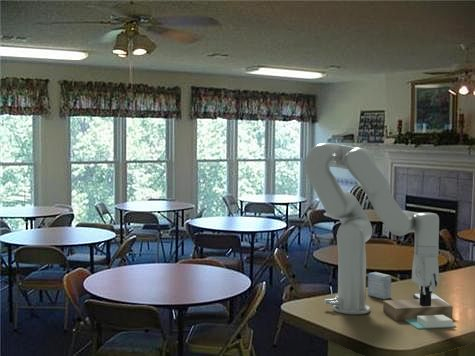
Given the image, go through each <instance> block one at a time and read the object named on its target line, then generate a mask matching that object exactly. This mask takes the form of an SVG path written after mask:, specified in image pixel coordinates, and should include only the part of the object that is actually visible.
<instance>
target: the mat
mask: <svg viewBox="0 0 475 356" xmlns="http://www.w3.org/2000/svg"><path fill="white" fill-rule="evenodd" d="M404 322H406V323H408V324H409V325H411V326H412V327H414V328H415V329H417V330H427V329H445V328H446V329H448V328H457V325H455V324H454V323H453V326H451V327H430V328H426V327H424V326H423V325H421V324H419V323H418V322H417V319H405V320H404Z"/></svg>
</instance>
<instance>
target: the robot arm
mask: <svg viewBox="0 0 475 356" xmlns="http://www.w3.org/2000/svg"><path fill="white" fill-rule="evenodd" d="M304 167H305V168H304V169H305V172H306V173H305V174H306V176H307V179H308V180H309V182H310V184H311V186H312V188H313V189H314V192H315V194H316V195H317V197H318V199H319V201H320V203H321V205H322V206H323V208H324V210H325V212H326V215H328V217H330V218H331V219H333V220H339V222H340V223H341V224H340V225H339V228H338V229H337V233H336V245H337V257H338V258H337V263H338V264H337V265H338V267H337V268H338V269H337V270H338V272H337V277H338V278H337V295H335V297H333V298H324V300H323V303H324V305H326V306H327V305H330V306H333V307H332V308H333V310H334V311H335V312H337V313H339V314H340V313H341V314H346V315H364V314H368V313H369V312H370V311H371V307H370V305H367V304H366V302H367V301H366V300H367V299H366V298H367V297H366V296H367V294H366V292H367V289H366V286H367V281H366V280H367V252H366V243H367V242H368V241H369V240H370V239H371V237H372V235H373V226H372V223H371V221H370V219H369V218H368V216H367V214H366V212H365V211H364V209H363V208H362V206H361V203H360V202H359V201H358V199H357V197H355V195H354V194H353V193H351V192H349V191H345V190H343V189H342V187H341V185H340V184H339V182H338V179H337V178H336V177H335V175H334V174H333V173H332V171H331V170H330V169H331V168H338V169H342V170H343V169H344V170H347V171H349V173H350V175H351V176H352V177H353V178H354V180H355V181H356V183H357V184H358V185H359V186H360V188H361V189H362V191H363V192H364V193H365V195H366V197H367V199H368V200H369V201H368V202H369V203H370V205H371V206H372V208H373V210H374V212H375V214H376V215H377V216H378V218H379V219H380V221H381V222H382V224H384V226H385V228H386V229H387V230H388V231H389V232H390V233H392V234H393V235H395V236H398V237H399V236H400V237H402V236H405V235H407V234H409V233H414V250H413V251H414V254H413V260H412V269H411V281H412V282H414V283H415V284H416V285H417V286H418V292H419V294H420V305H421V306H423V307H424V306H431V295H432V294H433V292H436V288H437V287H439V286H438V285H439V283H440V282H439V278H440V276H439V275H440V272H439V271H440V270H439V260H438V259H439V258H438V257H439V245H440V244H439V243H440V242H439V238H440V235H439V234H440V216H439V215H438V214H437V213H434V212H416V211H410V210H402V208H401V207H400V205H399V204H398V202H397V201H396V199H395V198H394V196H393V194H392V192H391V188H390V182H389V180H388V179H387V178H386V177H385V175H384V174H383V172H382V171H381V170H380V168H379V167H378V166H377V165H376V163H375V157H374V154H373V152H371V150H369V149H367V148H365V147H364V148H363V147H355V146H351V145H350V146H349V145H345V144H344V145H343V144H338V143H328V142H321V143H318V144H316V145H314V146H312V148H311V149H310V151H308V154H307V155H306V159H305V162H304ZM330 167H331V168H330Z"/></svg>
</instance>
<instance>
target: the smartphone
mask: <svg viewBox="0 0 475 356" xmlns="http://www.w3.org/2000/svg"><path fill="white" fill-rule="evenodd" d="M412 297H413V298H414V299H420V293H413V295H412ZM437 298H438V299H440V300H441V301H443V302H445V303H447V304H449V305H451V304H450V303H448V301H445V300H444V299H443V298H442V297H441V296H438V295H437V294H436V293H432V295H431V299H437Z"/></svg>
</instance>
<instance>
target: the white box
mask: <svg viewBox="0 0 475 356" xmlns="http://www.w3.org/2000/svg"><path fill="white" fill-rule="evenodd" d="M417 322H418V323H419V324H421V325H423V326H424V327H426V328H429V329H431V328H430V327H450V328H452V327H451V326H453V324H454V321H453V318H448V317H446V316H444V315H425V316H417Z"/></svg>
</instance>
